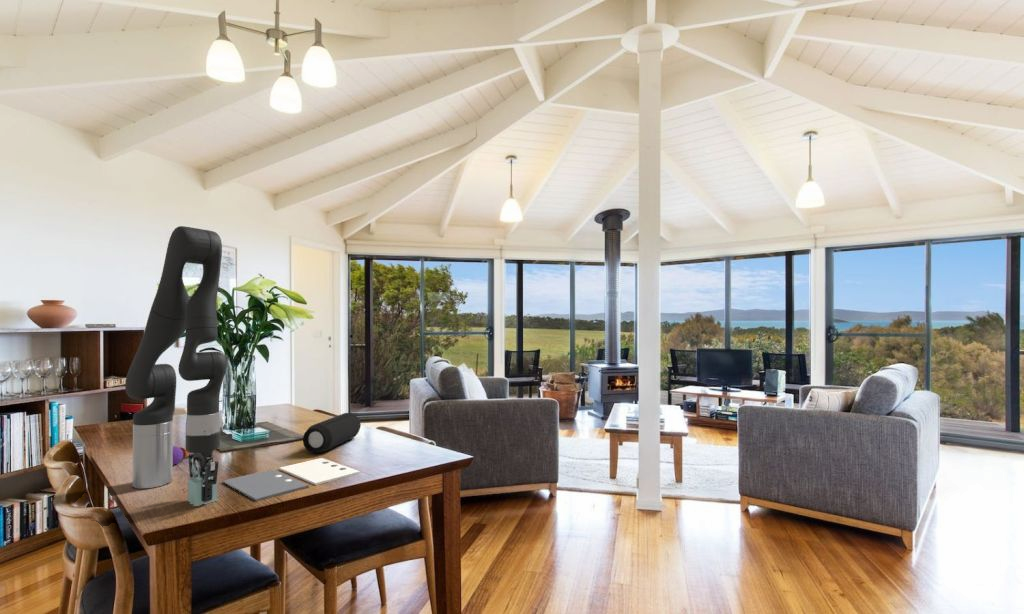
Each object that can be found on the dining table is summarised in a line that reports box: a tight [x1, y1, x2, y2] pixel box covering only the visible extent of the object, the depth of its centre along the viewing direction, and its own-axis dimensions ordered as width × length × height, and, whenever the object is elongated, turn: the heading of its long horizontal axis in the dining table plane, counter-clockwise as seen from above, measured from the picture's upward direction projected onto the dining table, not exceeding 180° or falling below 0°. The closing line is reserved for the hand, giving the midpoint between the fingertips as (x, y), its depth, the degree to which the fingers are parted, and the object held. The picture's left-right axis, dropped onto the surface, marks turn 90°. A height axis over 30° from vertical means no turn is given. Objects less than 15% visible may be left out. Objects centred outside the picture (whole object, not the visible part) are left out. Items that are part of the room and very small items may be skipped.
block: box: [187, 476, 218, 507], centre depth 130 cm, size 5×5×6 cm
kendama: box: [173, 445, 191, 466], centre depth 169 cm, size 6×6×20 cm
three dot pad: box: [278, 457, 361, 486], centre depth 155 cm, size 22×14×1 cm, turn 49°
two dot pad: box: [221, 468, 310, 502], centre depth 143 cm, size 22×14×1 cm, turn 49°
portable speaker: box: [302, 412, 362, 454], centre depth 186 cm, size 26×10×10 cm, turn 169°
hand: (202, 498), depth 130 cm, fingers closed on block, 5 cm apart
